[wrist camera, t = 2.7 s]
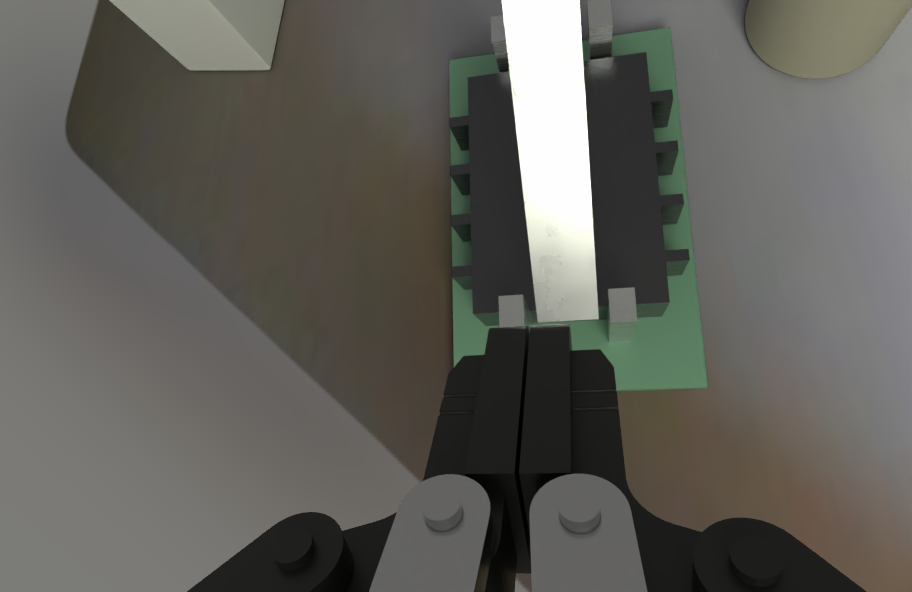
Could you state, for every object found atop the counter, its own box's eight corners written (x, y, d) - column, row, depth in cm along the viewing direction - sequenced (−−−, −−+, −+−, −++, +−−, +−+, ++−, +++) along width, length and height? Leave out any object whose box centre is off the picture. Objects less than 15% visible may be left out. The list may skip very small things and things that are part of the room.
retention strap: (598, 309, 31) (598, 319, 30) (538, 312, 32) (537, 322, 31) (577, -34, 24) (577, -34, 24) (501, -21, 25) (499, -20, 24)
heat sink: (461, 84, 41) (435, 20, 34) (659, 56, 38) (671, -18, 32) (466, 348, 37) (439, 331, 30) (687, 338, 34) (706, 317, 28)
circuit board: (453, 70, 42) (449, 60, 41) (668, 38, 39) (670, 27, 38) (458, 396, 38) (454, 395, 36) (704, 388, 35) (707, 387, 33)
